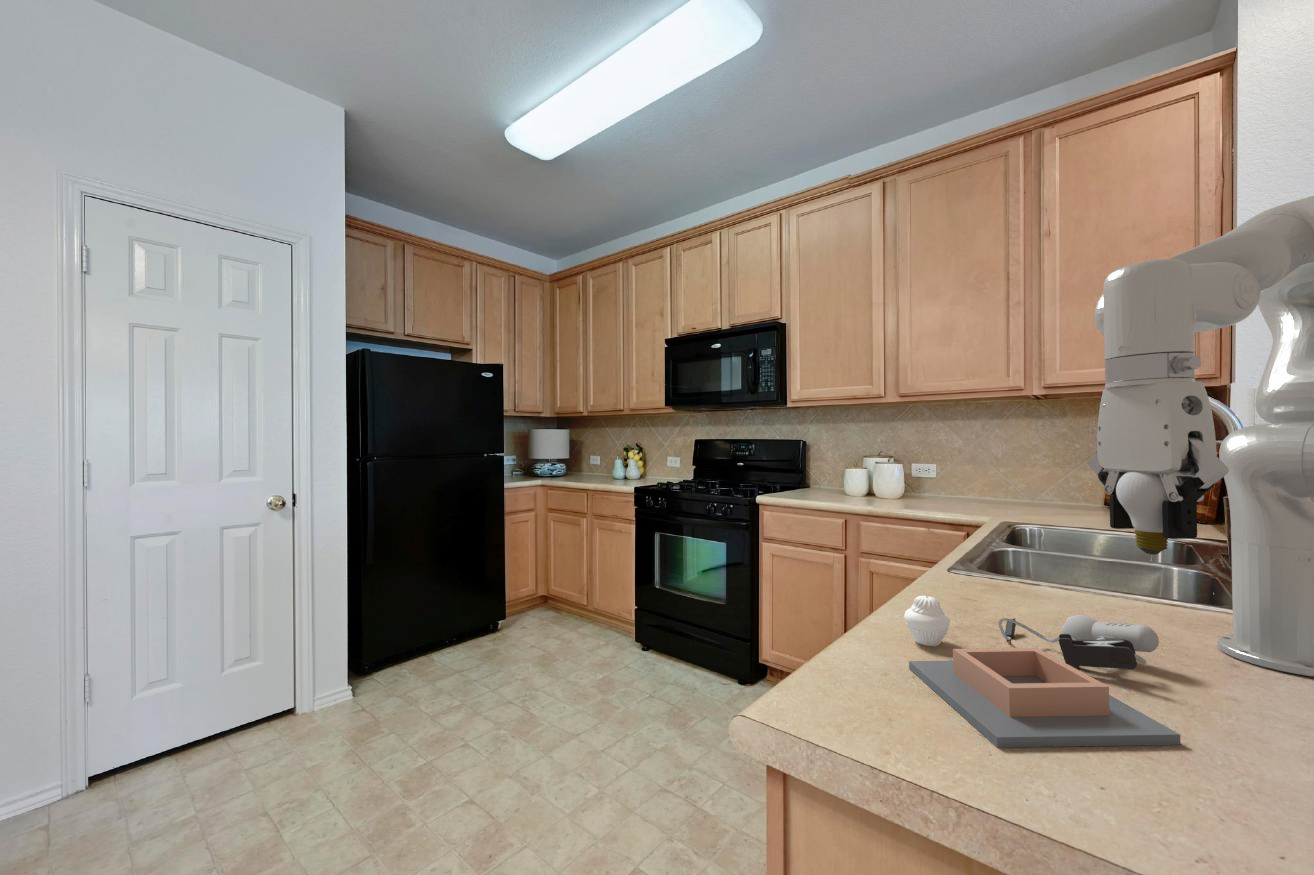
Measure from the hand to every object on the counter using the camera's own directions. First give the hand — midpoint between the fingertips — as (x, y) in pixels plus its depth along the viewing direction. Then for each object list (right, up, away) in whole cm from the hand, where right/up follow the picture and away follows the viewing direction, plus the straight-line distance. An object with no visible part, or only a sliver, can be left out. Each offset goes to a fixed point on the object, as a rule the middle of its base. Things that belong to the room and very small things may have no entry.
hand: (1151, 531), depth 60 cm
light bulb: (0, -3, 0) cm, 3 cm away
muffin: (-16, -20, +19) cm, 32 cm away
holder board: (-14, -20, +1) cm, 24 cm away
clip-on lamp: (+1, -20, +14) cm, 24 cm away
